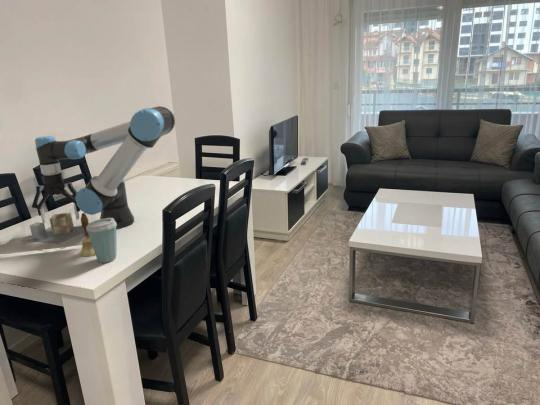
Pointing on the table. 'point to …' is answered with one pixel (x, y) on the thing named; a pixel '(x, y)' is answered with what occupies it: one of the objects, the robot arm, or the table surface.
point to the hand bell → (86, 239)
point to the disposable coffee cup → (103, 238)
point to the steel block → (38, 231)
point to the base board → (56, 236)
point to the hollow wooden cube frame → (61, 223)
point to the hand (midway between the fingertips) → (61, 220)
